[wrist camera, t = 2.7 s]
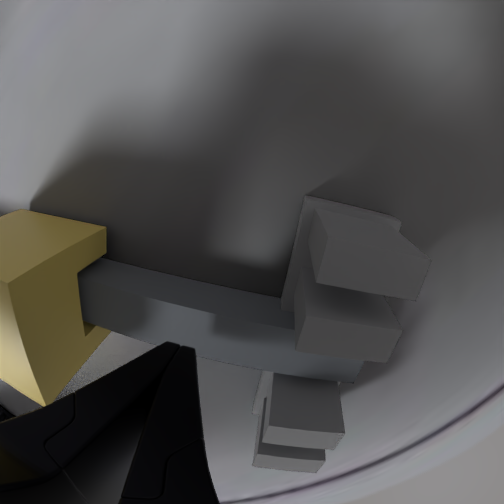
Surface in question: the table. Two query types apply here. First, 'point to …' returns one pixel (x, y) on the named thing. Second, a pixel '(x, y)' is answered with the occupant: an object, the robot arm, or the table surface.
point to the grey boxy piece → (333, 323)
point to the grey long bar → (202, 320)
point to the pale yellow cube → (45, 301)
